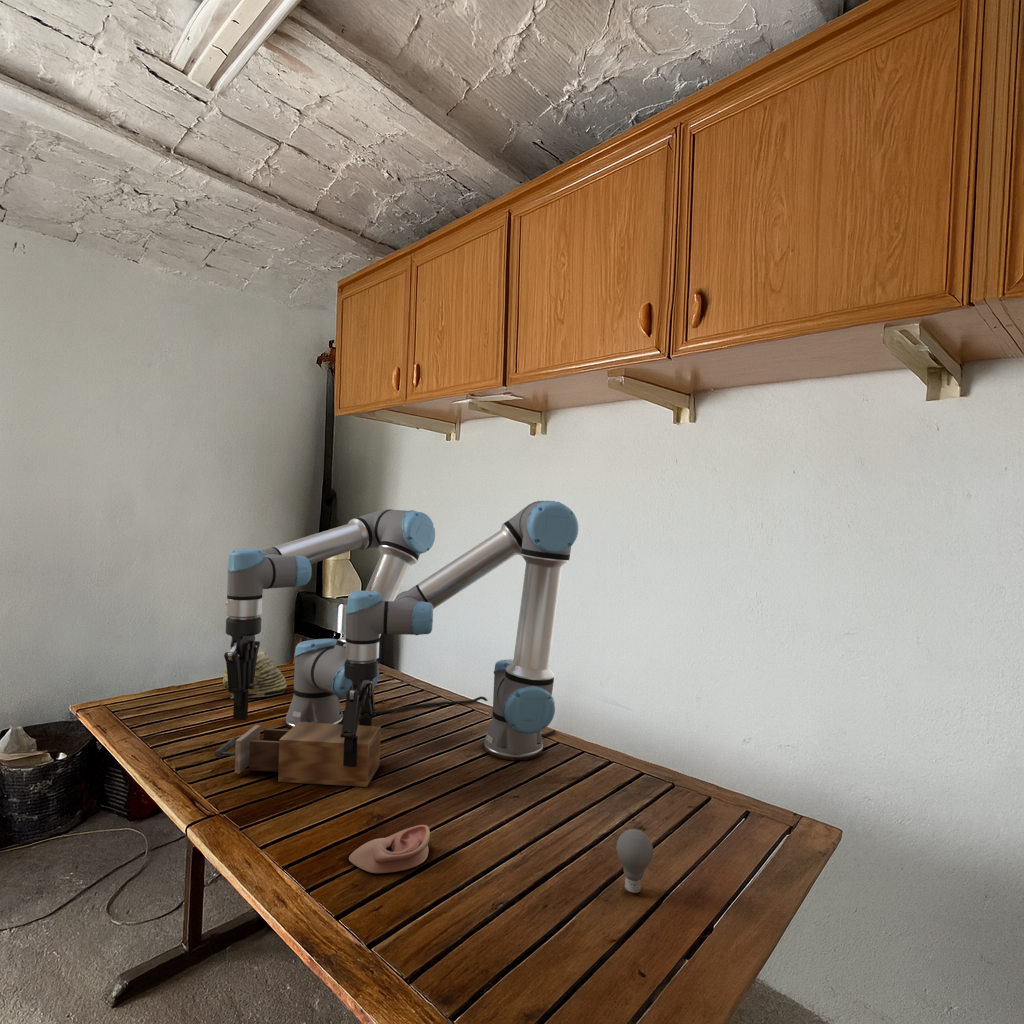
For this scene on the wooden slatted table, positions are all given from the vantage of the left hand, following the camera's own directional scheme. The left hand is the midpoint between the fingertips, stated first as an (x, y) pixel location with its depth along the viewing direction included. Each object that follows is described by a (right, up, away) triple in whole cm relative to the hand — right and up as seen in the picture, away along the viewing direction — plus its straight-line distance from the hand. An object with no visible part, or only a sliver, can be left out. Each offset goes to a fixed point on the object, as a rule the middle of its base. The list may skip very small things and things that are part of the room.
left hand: (240, 718), depth 146 cm
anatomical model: (+41, -14, -33) cm, 54 cm away
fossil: (-18, -10, +52) cm, 56 cm away
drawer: (+8, -11, 0) cm, 13 cm away
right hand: (+27, -8, -1) cm, 28 cm away
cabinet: (+21, -12, -1) cm, 24 cm away
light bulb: (+83, -16, -40) cm, 93 cm away
